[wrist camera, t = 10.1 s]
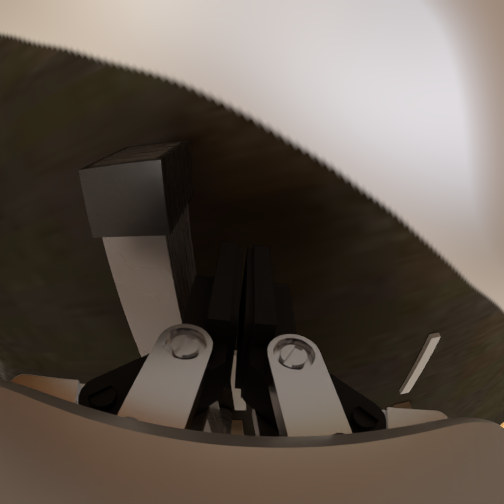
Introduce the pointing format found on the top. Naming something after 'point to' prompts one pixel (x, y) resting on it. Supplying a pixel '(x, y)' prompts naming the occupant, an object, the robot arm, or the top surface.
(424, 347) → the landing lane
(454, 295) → the top surface
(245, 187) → the top surface
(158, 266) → the retention gate
